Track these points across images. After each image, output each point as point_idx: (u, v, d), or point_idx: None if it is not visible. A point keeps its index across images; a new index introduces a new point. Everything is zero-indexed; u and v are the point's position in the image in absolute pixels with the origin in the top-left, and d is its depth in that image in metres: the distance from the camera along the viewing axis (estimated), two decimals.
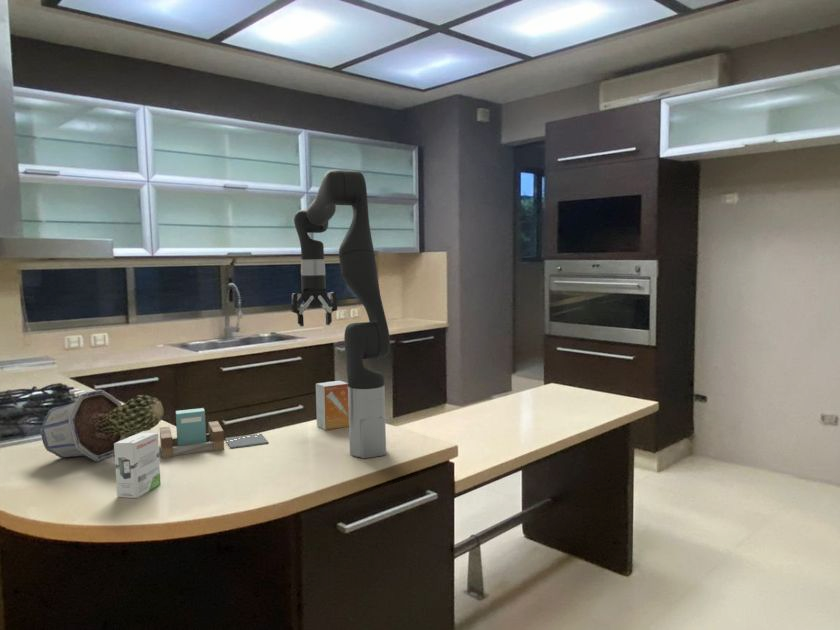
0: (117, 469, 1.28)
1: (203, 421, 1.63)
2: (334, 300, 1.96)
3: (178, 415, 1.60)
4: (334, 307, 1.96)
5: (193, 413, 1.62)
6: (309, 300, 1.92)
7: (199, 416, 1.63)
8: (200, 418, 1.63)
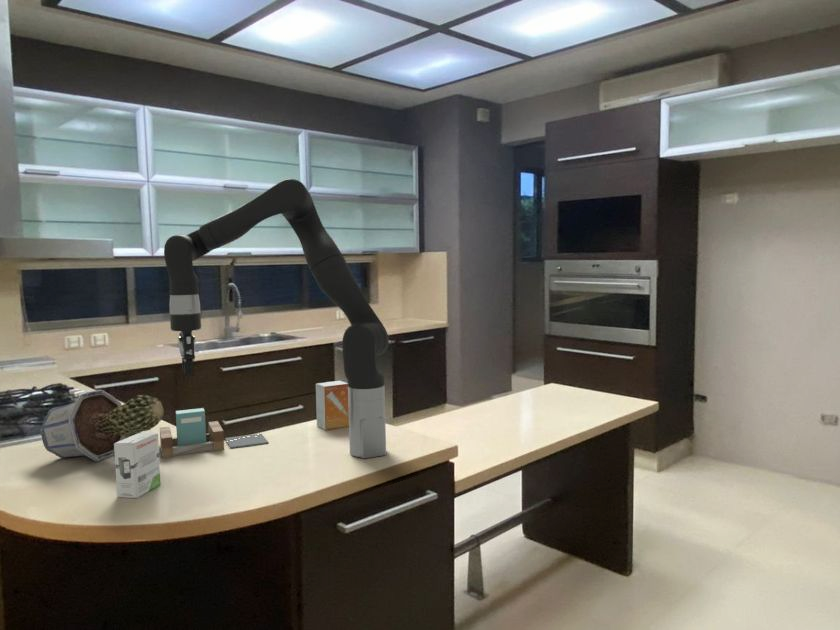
0: (117, 469, 1.28)
1: (203, 421, 1.63)
2: None
3: (178, 415, 1.60)
4: None
5: (193, 413, 1.62)
6: (194, 343, 1.61)
7: (199, 416, 1.63)
8: (200, 418, 1.63)
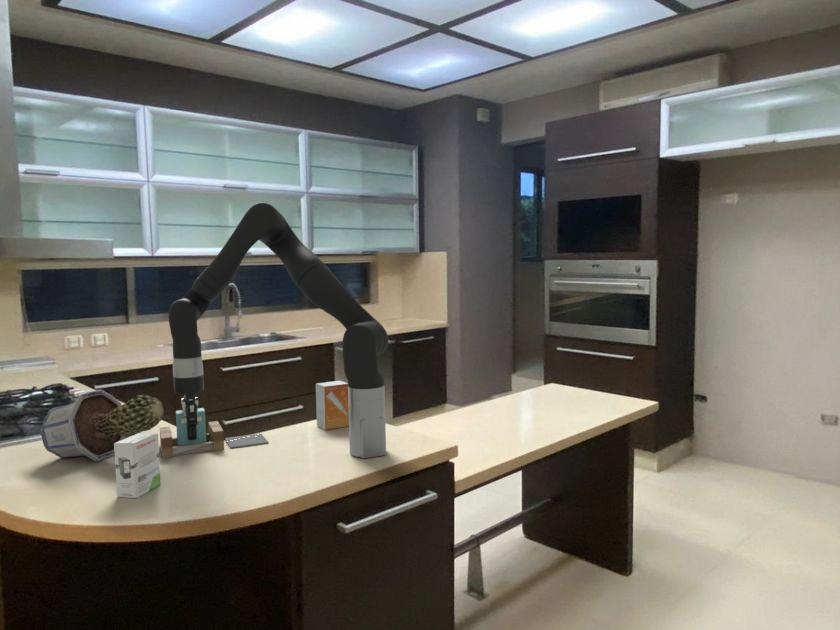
0: (117, 469, 1.28)
1: (203, 421, 1.63)
2: None
3: (178, 415, 1.60)
4: None
5: None
6: (197, 405, 1.63)
7: (199, 416, 1.63)
8: (200, 418, 1.63)
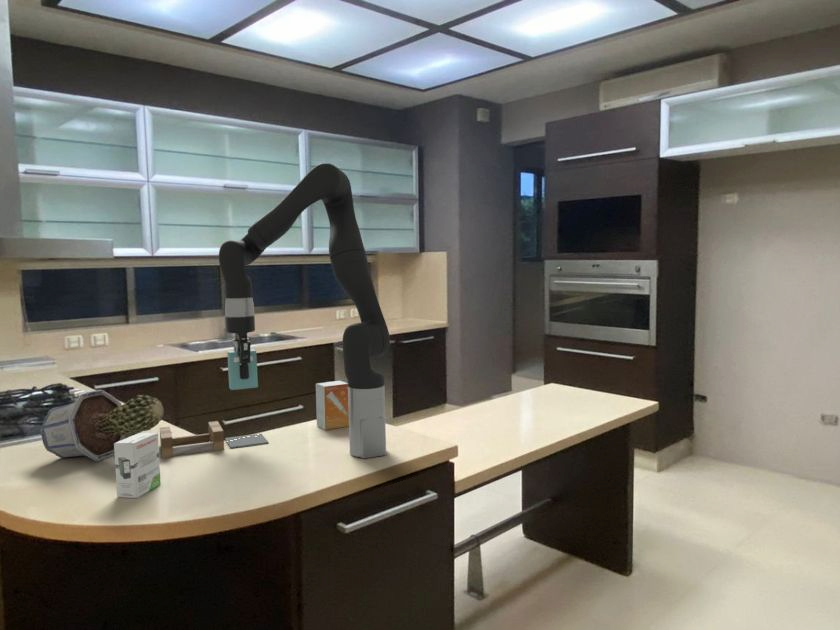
0: (117, 469, 1.28)
1: (255, 361, 1.67)
2: None
3: (231, 354, 1.64)
4: None
5: None
6: None
7: (251, 356, 1.66)
8: (252, 358, 1.66)
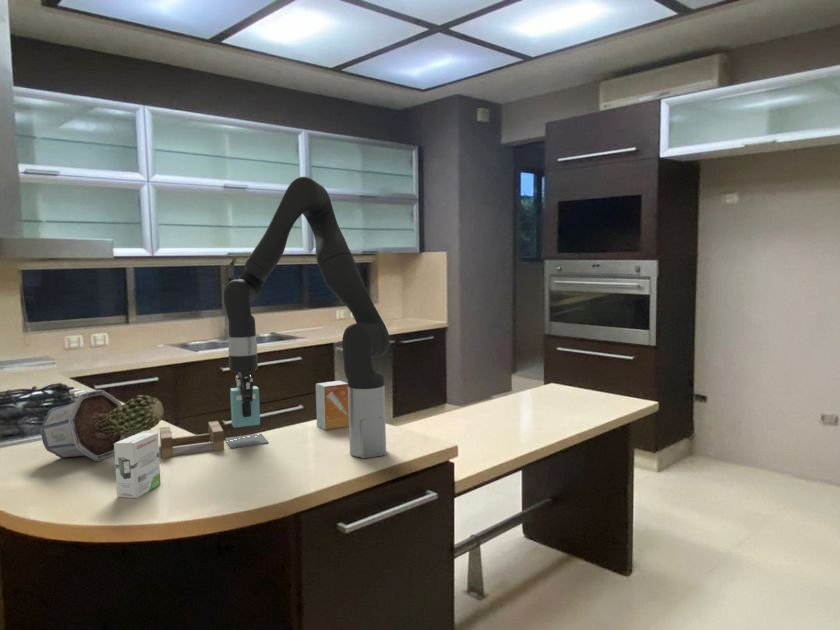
0: (117, 469, 1.28)
1: (257, 398, 1.68)
2: None
3: (234, 392, 1.65)
4: None
5: None
6: None
7: (253, 393, 1.68)
8: (254, 395, 1.68)
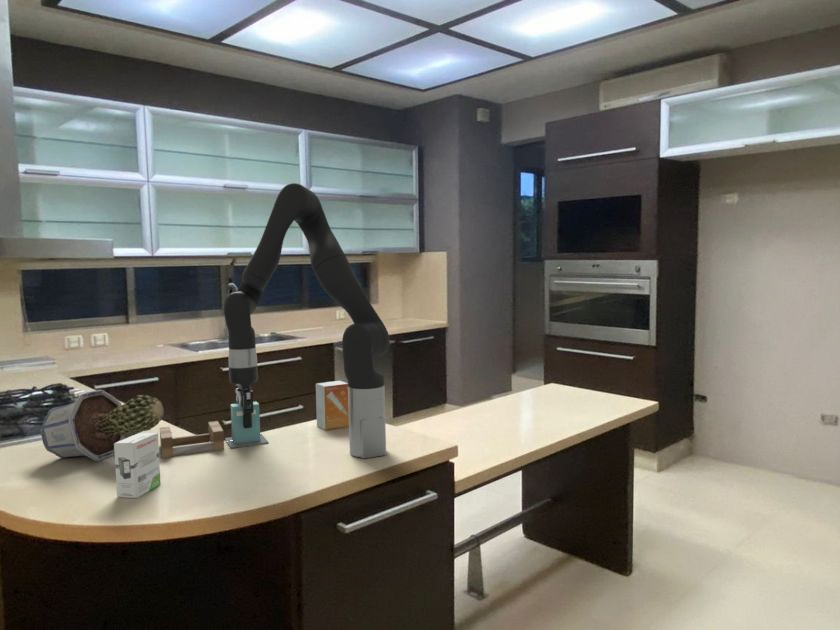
0: (117, 469, 1.28)
1: (257, 414, 1.68)
2: None
3: (234, 408, 1.65)
4: None
5: (248, 406, 1.67)
6: None
7: (254, 409, 1.68)
8: (255, 411, 1.68)
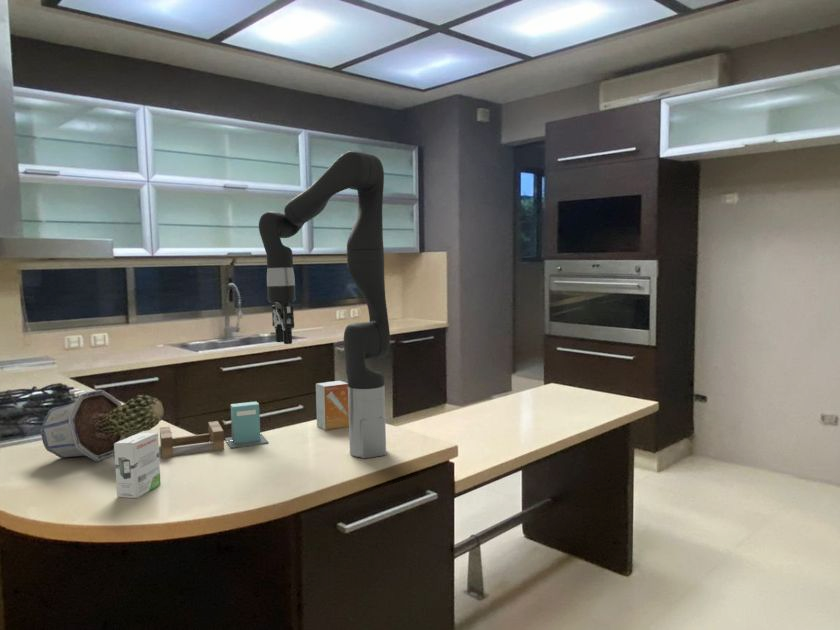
0: (117, 469, 1.28)
1: (257, 414, 1.68)
2: None
3: (234, 408, 1.65)
4: None
5: (248, 406, 1.67)
6: None
7: (254, 409, 1.68)
8: (255, 411, 1.68)
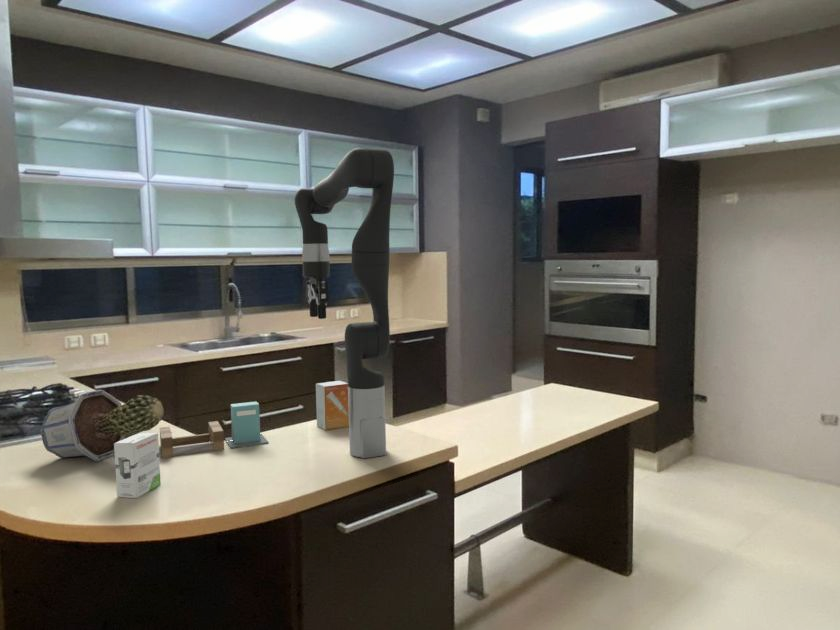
0: (117, 469, 1.28)
1: (257, 414, 1.68)
2: None
3: (234, 408, 1.65)
4: None
5: (248, 406, 1.67)
6: None
7: (254, 409, 1.68)
8: (255, 411, 1.68)
